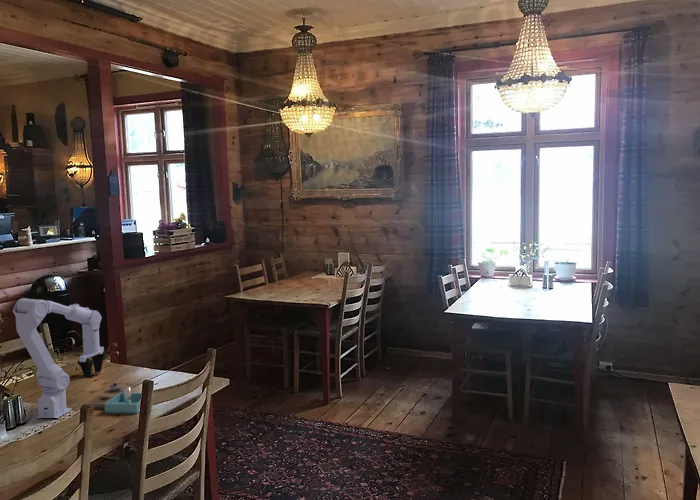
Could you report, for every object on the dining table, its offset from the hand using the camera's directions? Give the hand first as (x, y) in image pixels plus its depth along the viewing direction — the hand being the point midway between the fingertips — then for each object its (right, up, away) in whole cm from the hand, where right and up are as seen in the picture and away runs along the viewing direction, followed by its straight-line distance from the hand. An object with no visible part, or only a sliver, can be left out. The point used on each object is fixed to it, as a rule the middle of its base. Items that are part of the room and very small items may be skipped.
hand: (93, 374), depth 221 cm
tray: (+17, -10, -9) cm, 22 cm away
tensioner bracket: (+7, -10, -2) cm, 12 cm away
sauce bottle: (-14, -7, +31) cm, 34 cm away
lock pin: (+17, -10, -9) cm, 22 cm away
